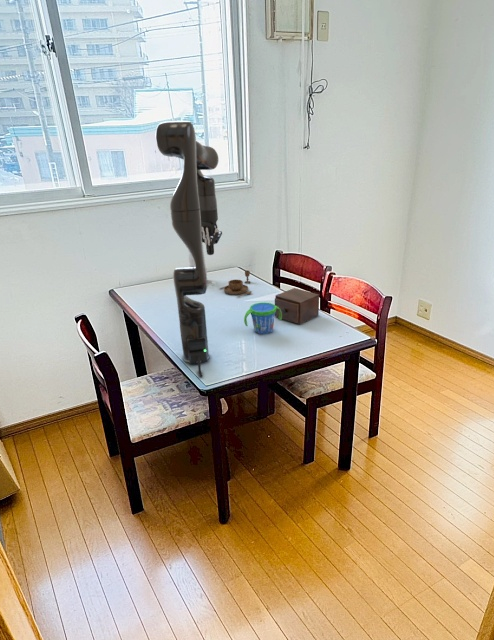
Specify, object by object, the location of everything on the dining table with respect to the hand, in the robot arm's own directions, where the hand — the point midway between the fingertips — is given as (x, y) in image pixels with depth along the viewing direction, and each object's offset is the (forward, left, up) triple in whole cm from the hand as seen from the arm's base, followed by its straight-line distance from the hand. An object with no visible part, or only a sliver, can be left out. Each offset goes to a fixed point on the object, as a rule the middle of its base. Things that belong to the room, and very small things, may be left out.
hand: (210, 254), depth 194 cm
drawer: (-6, -33, -28) cm, 43 cm away
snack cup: (-15, -17, -29) cm, 36 cm away
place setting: (+38, -22, -29) cm, 53 cm away
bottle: (+58, -4, -29) cm, 65 cm away
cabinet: (-5, -35, -29) cm, 45 cm away
